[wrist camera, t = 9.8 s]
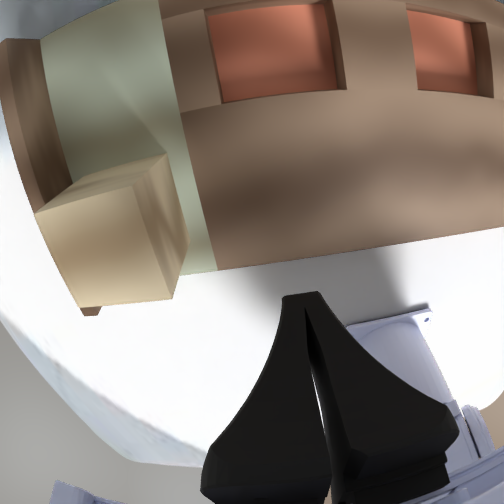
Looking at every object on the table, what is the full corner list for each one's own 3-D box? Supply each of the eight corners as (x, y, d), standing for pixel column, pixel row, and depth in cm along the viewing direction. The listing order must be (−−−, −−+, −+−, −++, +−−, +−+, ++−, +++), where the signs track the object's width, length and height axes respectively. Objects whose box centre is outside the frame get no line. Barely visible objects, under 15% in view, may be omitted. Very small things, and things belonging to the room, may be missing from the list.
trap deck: (544, 206, 17) (578, 233, 13) (111, 268, 20) (84, 316, 16) (548, 35, 9) (589, 41, 5) (46, 48, 12) (-7, 48, 7)
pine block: (190, 240, 17) (172, 299, 12) (112, 253, 17) (78, 307, 13) (167, 152, 14) (132, 185, 10) (84, 175, 14) (33, 214, 10)
